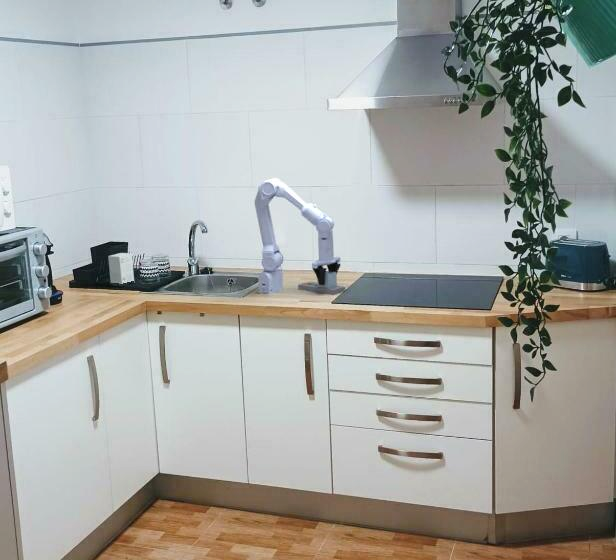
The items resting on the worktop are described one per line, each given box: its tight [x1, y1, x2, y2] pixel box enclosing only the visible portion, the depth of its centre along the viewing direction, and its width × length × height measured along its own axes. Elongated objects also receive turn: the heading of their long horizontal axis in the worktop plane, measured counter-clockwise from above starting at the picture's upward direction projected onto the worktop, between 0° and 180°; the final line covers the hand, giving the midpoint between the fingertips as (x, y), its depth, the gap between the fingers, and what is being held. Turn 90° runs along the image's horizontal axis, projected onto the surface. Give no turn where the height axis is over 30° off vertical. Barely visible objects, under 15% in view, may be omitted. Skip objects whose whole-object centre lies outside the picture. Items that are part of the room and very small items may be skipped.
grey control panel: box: [297, 281, 346, 296], centre depth 312 cm, size 7×18×3 cm, turn 48°
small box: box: [107, 252, 135, 284], centre depth 339 cm, size 8×6×13 cm
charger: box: [316, 270, 338, 289], centre depth 310 cm, size 5×6×8 cm
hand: (327, 283), depth 310 cm, fingers open, 6 cm apart
